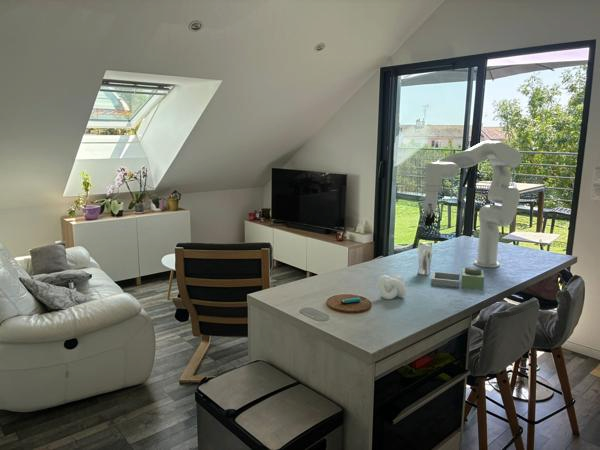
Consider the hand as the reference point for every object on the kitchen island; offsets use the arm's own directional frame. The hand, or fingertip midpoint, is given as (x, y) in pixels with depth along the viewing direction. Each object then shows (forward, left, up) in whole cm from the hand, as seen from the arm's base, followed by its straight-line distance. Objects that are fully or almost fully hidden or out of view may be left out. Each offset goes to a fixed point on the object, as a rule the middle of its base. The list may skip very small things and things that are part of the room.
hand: (429, 224), depth 224 cm
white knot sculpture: (+38, -11, -25) cm, 47 cm away
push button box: (+10, +14, -25) cm, 31 cm away
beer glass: (-1, -1, -25) cm, 25 cm away
